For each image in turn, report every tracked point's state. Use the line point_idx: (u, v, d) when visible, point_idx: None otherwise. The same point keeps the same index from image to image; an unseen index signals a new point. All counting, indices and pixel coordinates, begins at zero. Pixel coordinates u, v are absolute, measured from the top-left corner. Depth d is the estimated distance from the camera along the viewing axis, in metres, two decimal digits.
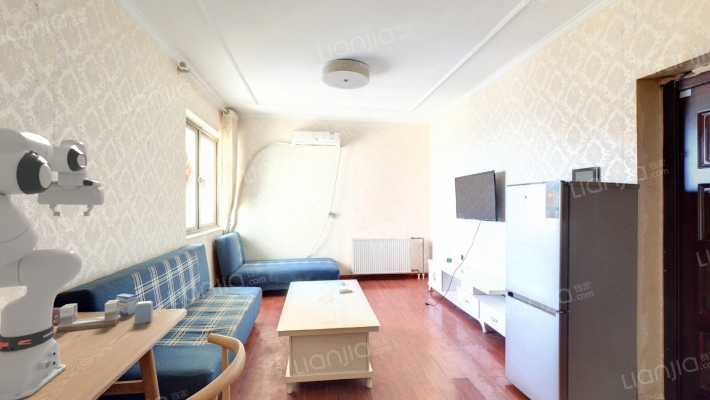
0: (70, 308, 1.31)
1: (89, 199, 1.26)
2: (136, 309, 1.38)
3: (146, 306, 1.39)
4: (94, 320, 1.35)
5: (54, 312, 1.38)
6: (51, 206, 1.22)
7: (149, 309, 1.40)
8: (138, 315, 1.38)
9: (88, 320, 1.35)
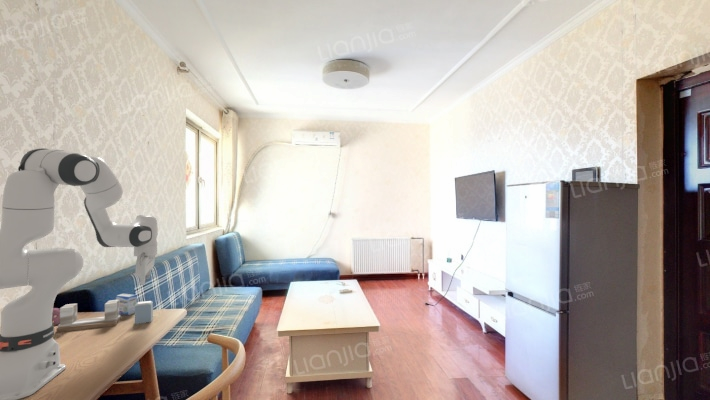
0: (70, 308, 1.31)
1: (152, 263, 1.47)
2: (136, 309, 1.38)
3: (146, 306, 1.39)
4: (94, 320, 1.35)
5: (53, 312, 1.38)
6: (144, 276, 1.36)
7: (149, 309, 1.40)
8: (138, 314, 1.38)
9: (88, 320, 1.35)
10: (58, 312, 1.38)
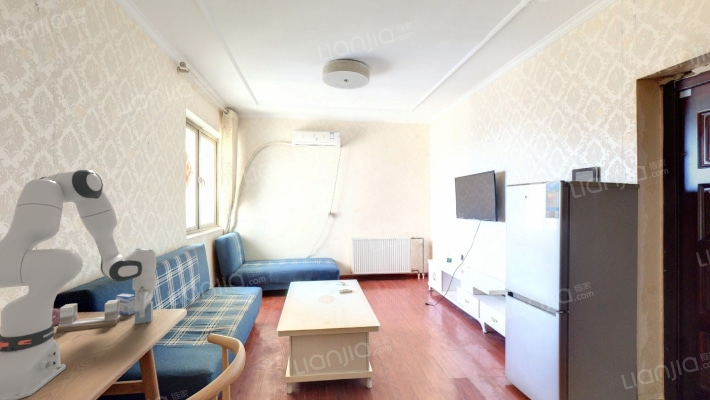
0: (70, 308, 1.31)
1: (151, 295, 1.47)
2: None
3: None
4: (94, 320, 1.35)
5: (52, 313, 1.37)
6: (144, 309, 1.37)
7: (149, 309, 1.40)
8: (138, 314, 1.38)
9: (88, 320, 1.35)
10: (57, 312, 1.37)
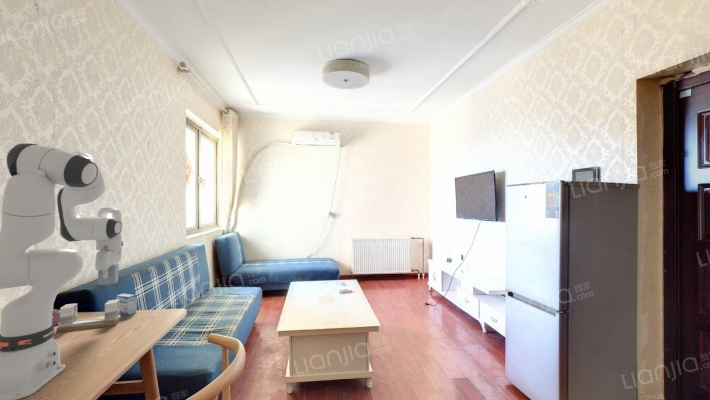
0: (70, 308, 1.31)
1: (118, 258, 1.43)
2: None
3: (110, 267, 1.36)
4: (94, 320, 1.35)
5: None
6: (108, 269, 1.34)
7: (113, 270, 1.36)
8: (102, 275, 1.34)
9: (88, 320, 1.35)
10: (55, 313, 1.36)
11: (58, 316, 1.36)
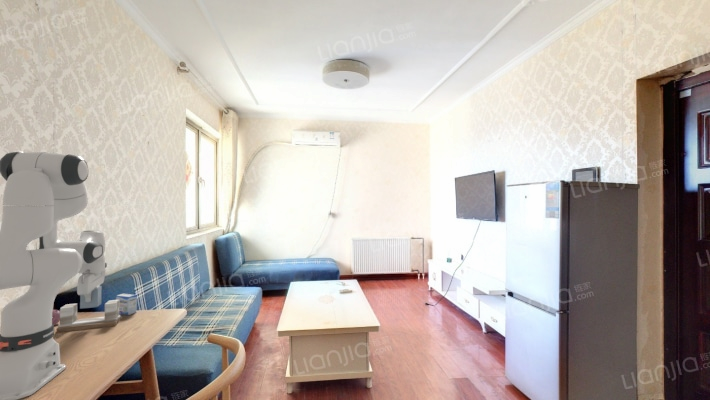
0: (70, 308, 1.31)
1: (101, 279, 1.42)
2: None
3: (93, 290, 1.34)
4: (94, 320, 1.35)
5: None
6: (90, 293, 1.32)
7: (96, 293, 1.35)
8: (84, 299, 1.33)
9: (88, 320, 1.35)
10: (54, 313, 1.36)
11: (57, 316, 1.35)
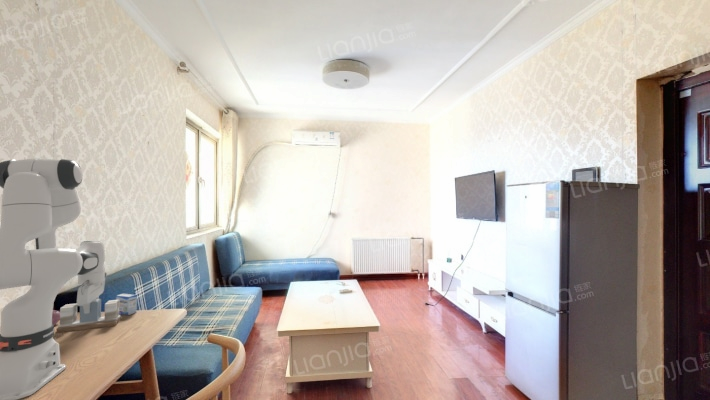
0: (70, 308, 1.31)
1: (101, 289, 1.42)
2: (81, 307, 1.32)
3: (92, 304, 1.34)
4: None
5: None
6: (89, 304, 1.31)
7: (95, 307, 1.34)
8: (83, 313, 1.33)
9: None
10: (53, 314, 1.35)
11: (56, 317, 1.35)
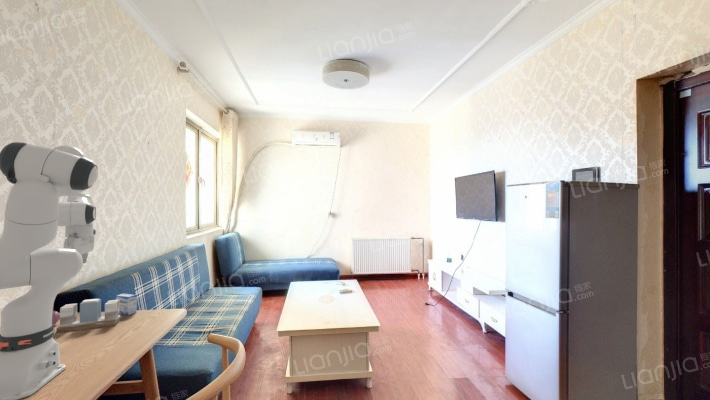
0: (70, 308, 1.31)
1: (90, 246, 1.38)
2: (81, 307, 1.32)
3: (92, 304, 1.34)
4: None
5: None
6: None
7: (95, 307, 1.34)
8: (83, 313, 1.33)
9: None
10: (52, 314, 1.35)
11: (55, 317, 1.34)
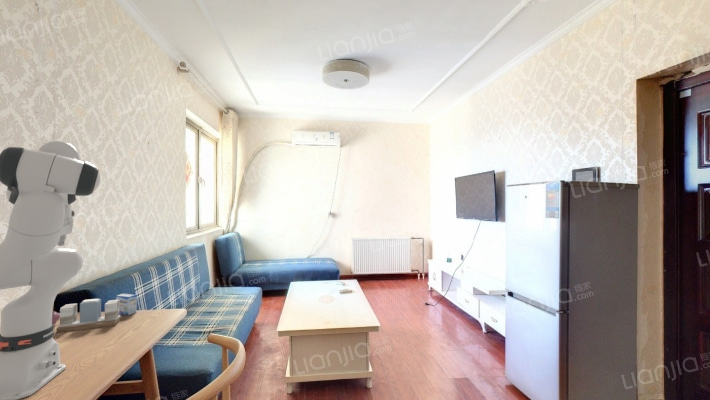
0: (70, 308, 1.31)
1: (68, 229, 1.32)
2: (81, 307, 1.32)
3: (92, 304, 1.34)
4: None
5: None
6: None
7: (95, 307, 1.34)
8: (83, 313, 1.33)
9: None
10: None
11: (54, 318, 1.34)
